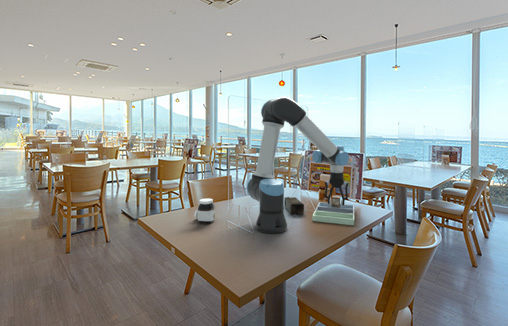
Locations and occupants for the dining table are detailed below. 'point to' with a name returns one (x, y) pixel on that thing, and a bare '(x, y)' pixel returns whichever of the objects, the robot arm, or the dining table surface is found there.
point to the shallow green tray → (335, 210)
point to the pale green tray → (333, 217)
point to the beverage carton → (293, 205)
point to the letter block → (336, 201)
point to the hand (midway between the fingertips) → (335, 210)
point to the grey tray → (336, 207)
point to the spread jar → (205, 211)
